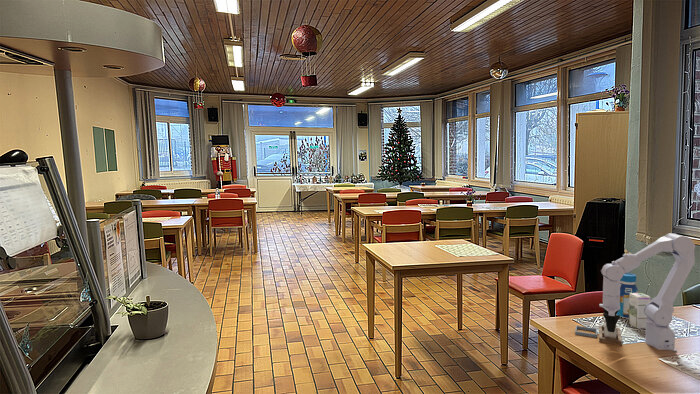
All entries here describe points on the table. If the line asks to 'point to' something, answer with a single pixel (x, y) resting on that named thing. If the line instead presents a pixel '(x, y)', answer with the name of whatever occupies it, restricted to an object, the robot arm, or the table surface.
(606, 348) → the table surface
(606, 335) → the loose billet
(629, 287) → the beverage bottle
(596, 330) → the tote
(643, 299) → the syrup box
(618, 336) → the pallet
